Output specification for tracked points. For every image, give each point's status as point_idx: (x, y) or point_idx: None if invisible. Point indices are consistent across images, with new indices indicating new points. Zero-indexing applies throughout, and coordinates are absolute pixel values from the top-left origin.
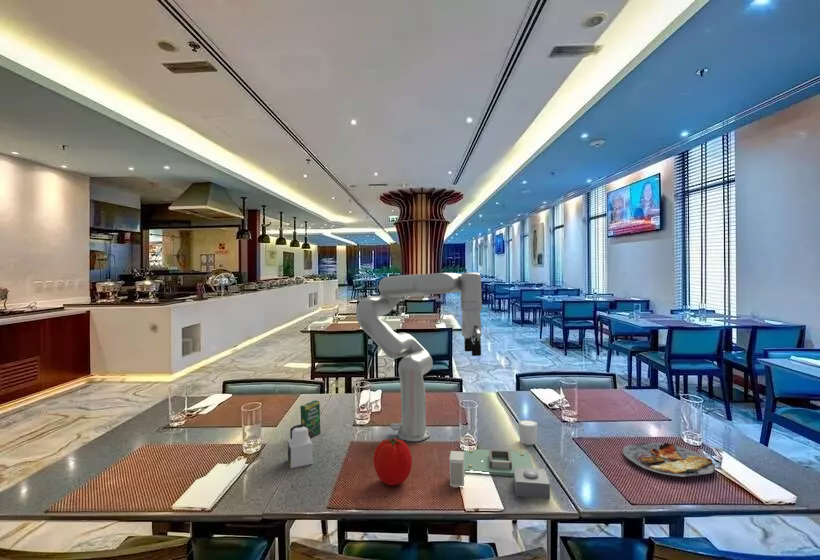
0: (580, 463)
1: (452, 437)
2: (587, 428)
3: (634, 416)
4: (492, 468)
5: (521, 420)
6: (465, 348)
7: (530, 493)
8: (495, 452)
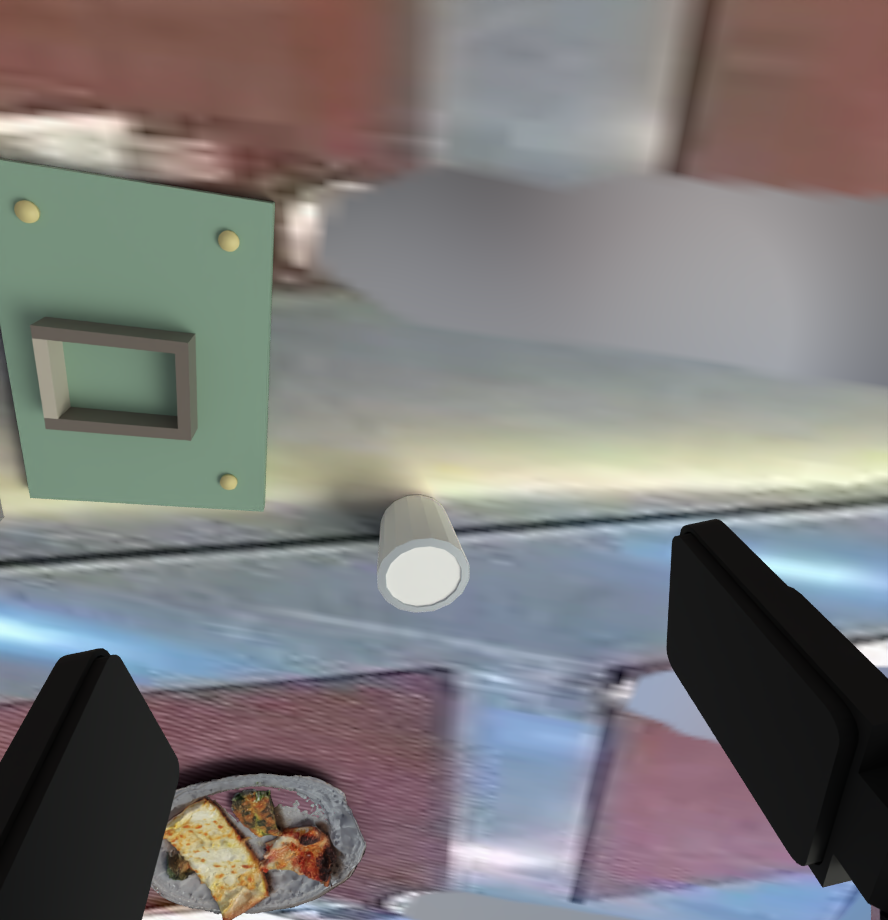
0: (212, 651)
1: (481, 147)
2: (535, 724)
3: (620, 845)
4: None
5: (459, 555)
6: (707, 570)
7: None
8: (177, 369)
